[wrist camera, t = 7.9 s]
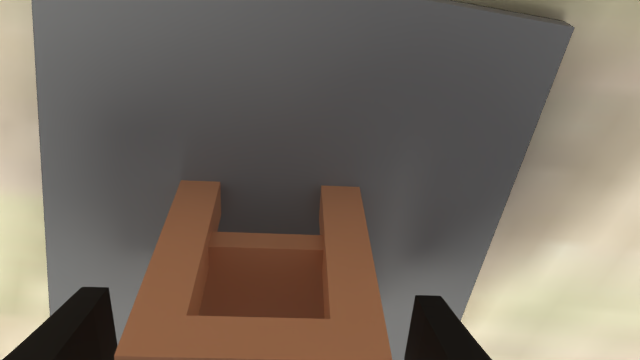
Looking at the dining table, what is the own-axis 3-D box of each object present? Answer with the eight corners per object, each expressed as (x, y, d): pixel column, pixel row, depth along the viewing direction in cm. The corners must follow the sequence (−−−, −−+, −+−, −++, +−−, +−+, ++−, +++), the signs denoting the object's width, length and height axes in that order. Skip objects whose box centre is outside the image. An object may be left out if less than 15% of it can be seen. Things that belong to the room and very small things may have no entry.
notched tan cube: (359, 186, 15) (392, 361, 10) (345, 321, 17) (365, 523, 12) (180, 180, 15) (114, 356, 9) (189, 317, 17) (139, 522, 11)
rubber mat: (563, 20, 14) (574, 27, 13) (407, 436, 21) (409, 450, 20) (39, -76, 12) (27, -73, 12) (62, 403, 19) (55, 418, 19)
